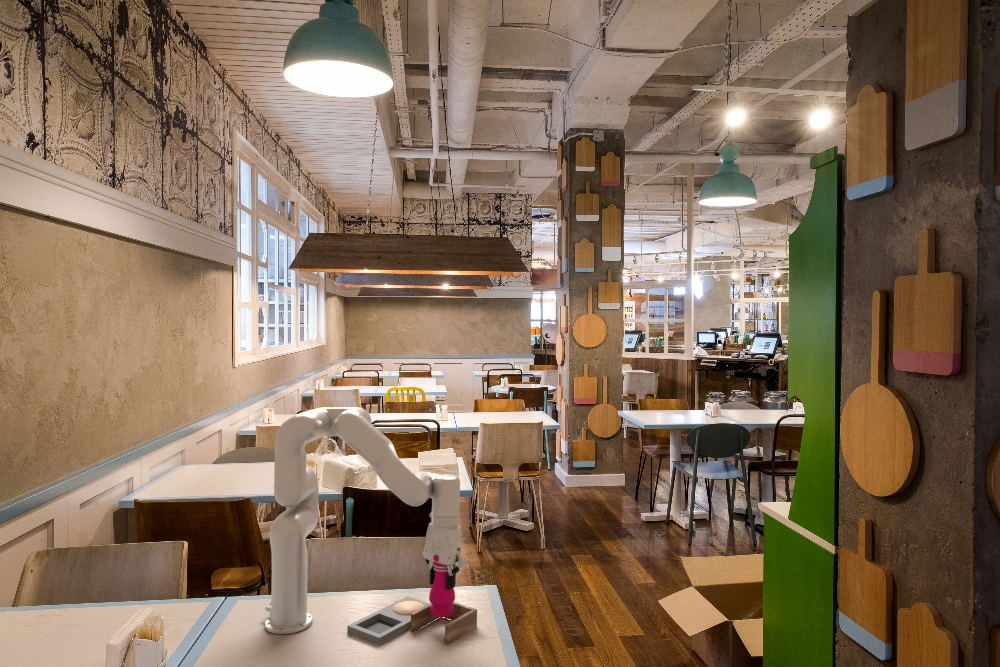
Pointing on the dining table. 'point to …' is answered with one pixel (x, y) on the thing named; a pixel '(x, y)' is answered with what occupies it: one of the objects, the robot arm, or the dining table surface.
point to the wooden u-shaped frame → (454, 630)
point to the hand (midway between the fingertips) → (442, 585)
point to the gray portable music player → (386, 621)
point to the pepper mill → (441, 592)
